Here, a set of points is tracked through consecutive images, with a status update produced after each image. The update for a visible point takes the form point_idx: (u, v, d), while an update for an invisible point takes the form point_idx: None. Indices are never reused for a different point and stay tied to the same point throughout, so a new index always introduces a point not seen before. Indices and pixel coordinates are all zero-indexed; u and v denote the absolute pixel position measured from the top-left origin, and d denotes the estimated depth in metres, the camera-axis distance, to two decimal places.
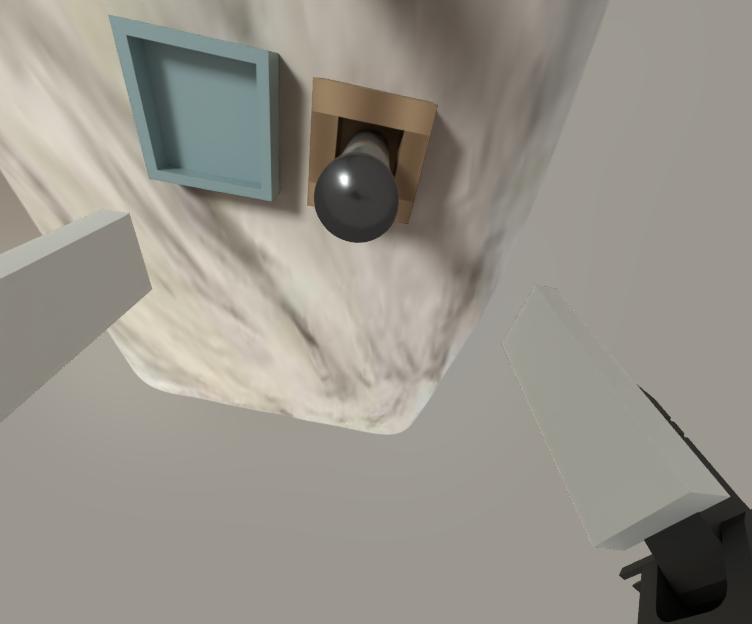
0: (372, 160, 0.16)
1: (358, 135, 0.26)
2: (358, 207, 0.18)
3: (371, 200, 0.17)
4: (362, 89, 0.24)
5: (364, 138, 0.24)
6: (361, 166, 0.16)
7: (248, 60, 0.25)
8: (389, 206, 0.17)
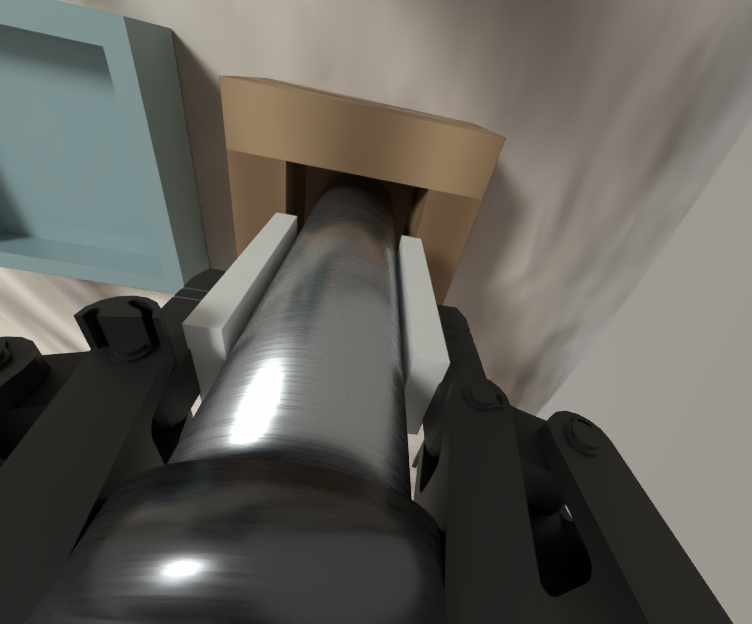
0: (311, 609, 0.02)
1: (330, 198, 0.12)
2: None
3: None
4: (335, 103, 0.11)
5: (339, 218, 0.10)
6: None
7: (84, 38, 0.11)
8: None
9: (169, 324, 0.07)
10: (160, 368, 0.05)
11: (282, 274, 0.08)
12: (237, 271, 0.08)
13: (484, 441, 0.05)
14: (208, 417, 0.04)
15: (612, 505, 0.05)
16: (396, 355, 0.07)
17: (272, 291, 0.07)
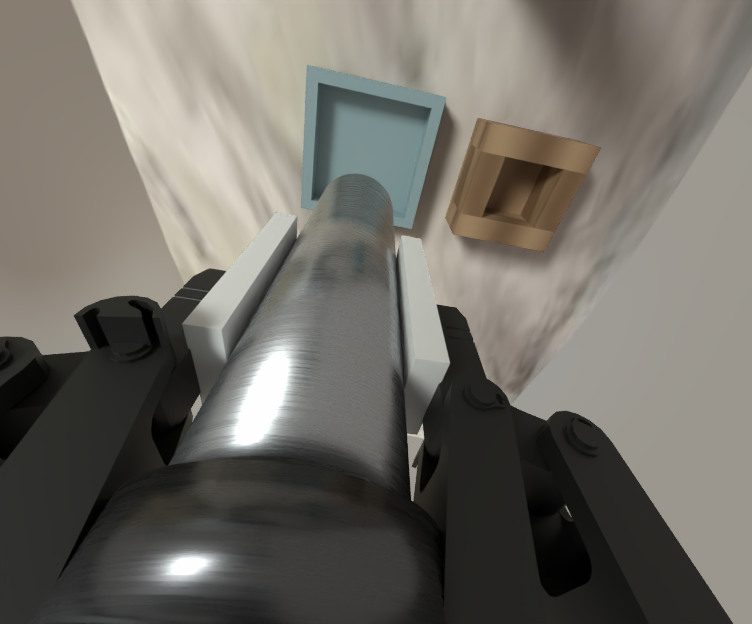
0: (311, 608, 0.03)
1: (331, 200, 0.12)
2: None
3: None
4: (534, 133, 0.26)
5: (339, 220, 0.10)
6: None
7: (425, 105, 0.27)
8: None
9: (168, 324, 0.07)
10: (160, 368, 0.05)
11: (282, 275, 0.08)
12: (237, 271, 0.08)
13: (484, 441, 0.05)
14: (209, 418, 0.05)
15: (612, 505, 0.05)
16: (396, 356, 0.07)
17: (272, 292, 0.07)
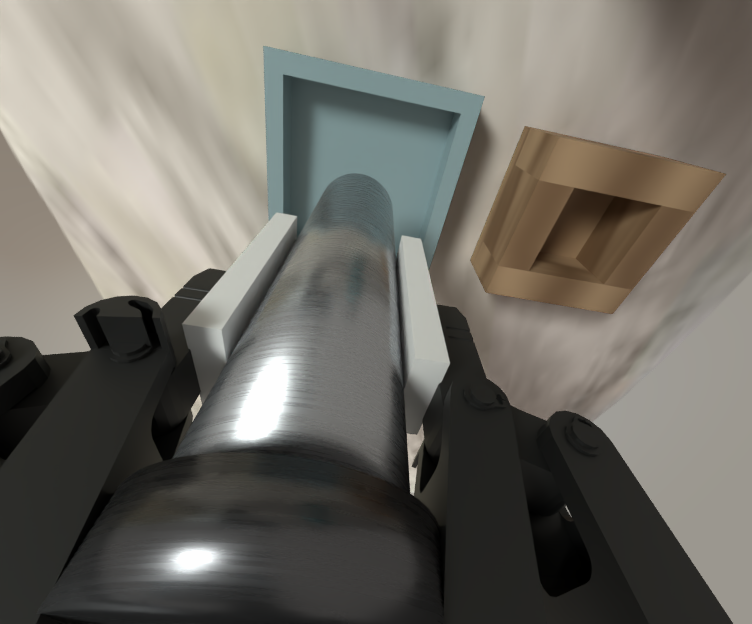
0: (313, 595, 0.03)
1: (331, 199, 0.12)
2: None
3: None
4: (624, 153, 0.17)
5: (339, 219, 0.10)
6: (249, 612, 0.03)
7: (451, 109, 0.17)
8: None
9: (169, 324, 0.07)
10: (160, 368, 0.05)
11: (283, 274, 0.08)
12: (237, 271, 0.08)
13: (484, 441, 0.05)
14: (212, 414, 0.05)
15: (612, 505, 0.05)
16: (395, 354, 0.07)
17: (273, 291, 0.07)
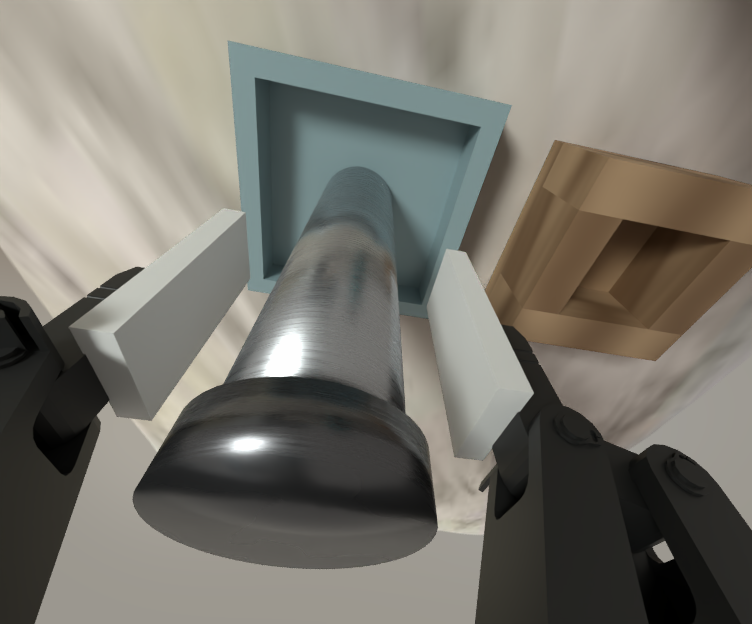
0: (338, 458, 0.04)
1: (335, 191, 0.14)
2: (301, 532, 0.05)
3: (342, 528, 0.05)
4: (691, 177, 0.13)
5: (344, 208, 0.11)
6: (293, 474, 0.04)
7: (469, 121, 0.14)
8: (404, 535, 0.05)
9: None
10: (38, 371, 0.05)
11: (296, 256, 0.09)
12: (156, 269, 0.07)
13: (579, 478, 0.05)
14: (248, 360, 0.06)
15: (723, 550, 0.05)
16: (394, 322, 0.08)
17: (289, 270, 0.09)
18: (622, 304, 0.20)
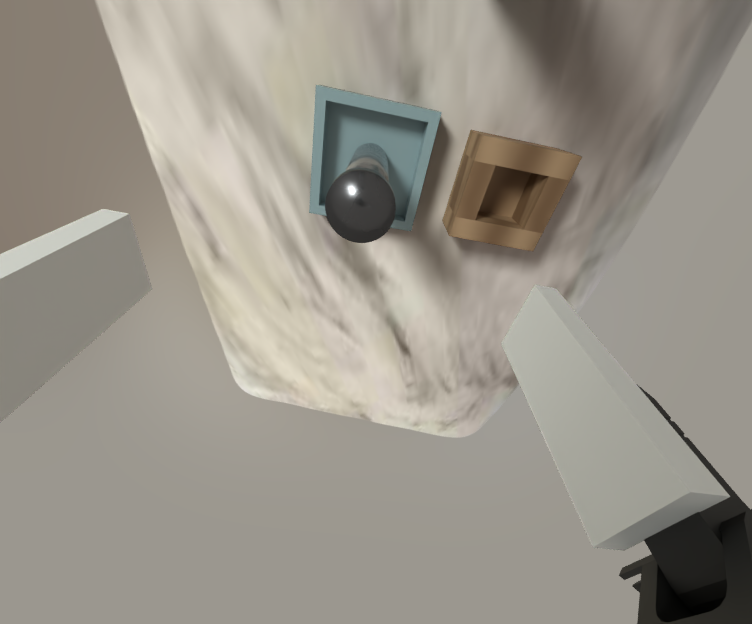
0: (374, 174, 0.20)
1: (361, 150, 0.30)
2: (362, 213, 0.21)
3: (373, 207, 0.21)
4: (521, 144, 0.29)
5: (366, 153, 0.27)
6: (365, 179, 0.20)
7: (422, 119, 0.30)
8: (388, 212, 0.21)
9: None
10: None
11: (351, 164, 0.25)
12: None
13: None
14: None
15: None
16: (386, 180, 0.24)
17: (350, 166, 0.24)
18: (516, 221, 0.36)
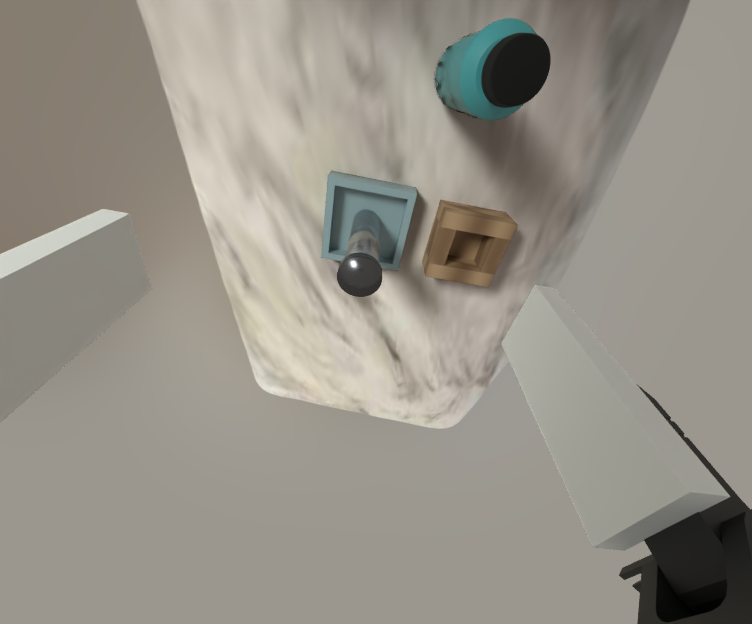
0: (367, 259, 0.32)
1: (360, 220, 0.41)
2: (360, 280, 0.33)
3: (367, 277, 0.33)
4: (473, 217, 0.41)
5: (363, 226, 0.39)
6: (362, 261, 0.32)
7: (404, 197, 0.42)
8: (377, 279, 0.33)
9: None
10: None
11: (353, 238, 0.37)
12: None
13: None
14: (350, 254, 0.34)
15: None
16: (377, 252, 0.36)
17: (352, 241, 0.36)
18: (476, 264, 0.48)
